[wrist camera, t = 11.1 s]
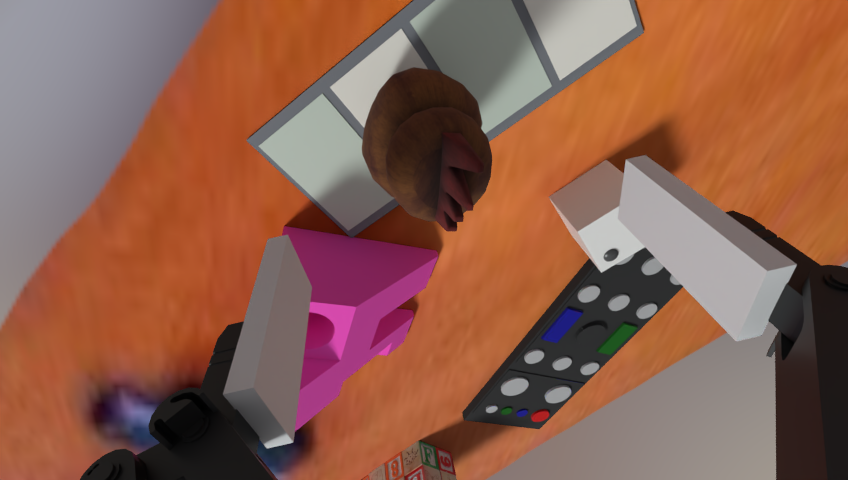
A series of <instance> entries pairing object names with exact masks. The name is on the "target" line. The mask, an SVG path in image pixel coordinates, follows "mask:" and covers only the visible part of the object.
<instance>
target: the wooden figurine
mask: <svg viewBox="0 0 848 480" xmlns="http://www.w3.org/2000/svg"><path fill="white" fill-rule="evenodd" d="M481 127H482V119H481V114H480V110H479V105H478V101H477V100H476V99H475V98H474V97H473V95H472V94H471V93H470V92H469V91H468V90H467V89H466V87H465V86H464V85H463V84H461V83H460V82H458V81H456V80H454V79H452V78H451V77H449V76H447V75H445V74H443V73H441V72H440V71H436V70H430V69H423V68H415V67H413V68H410V69H407V70H404V71H401V72H399V73H396V74H393V75H392V76H391V77H390V78H389V79H388V80H387V82H386V83H385V84H384V85H383V86H382V87H381V89H380V90H379V92H378V94H377V96H376V98H375V100H374V102H373V104H372V106H371V108H370V111H369V114H368V117H367V120H366V123H365V127H364V133H363V141H362V155H363V157H364V160H365V162H366V164H367V167H368V169H369V171H370V174H371V176H372V178H373V180H374V181H375V182H376V183H378V184H379V185H380V186H381V187H382V188H383V189H384V190H385V191H386V192H387V193H388V194H389V195H390V196H391V197H394V198H395V200H396V201H397V202H398V203H399V204H400V205H401V207H402V208H403V209H404V210H405V211H406V212H407V213H408V214H410V215H411V216H413V217H416V218H420V219H423V220H426V221H437V222H438V223H439V224H440V225H441V226H442V227H443V228H444V229H445V230H446V231H457V222H463V217H464V216H463V213H464V212H466V211H472V210H473V205H475V203H476V202H477V201H478V200H479V199H480V197H481V196H482V195H483V194H484V193H485V191H486V188H487V185H488V182H489V180H490V177H491V166H492V153H491V149H490V145H489V141H488V137H487V136H486V134H485V133H484V132H483V131H482V129H481Z"/></svg>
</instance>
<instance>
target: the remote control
mask: <svg viewBox="0 0 848 480" xmlns="http://www.w3.org/2000/svg"><path fill="white" fill-rule="evenodd" d="M682 287H683V286H682V285H681V284H680V283H679V282H678V281H677V280H676V279H675V277H674V276H673V275H672V274H671V273H670V272H669V271H668V270H667V269H666V268H665V267H664V266H663V265H662V264H661V263H660V262H659V261H658V260H657V259H656V258H655V257H654V256H653V255H652V254H651V253H650V252H649V251H648V249H647V248H646V247H645V248H643V249H641V250H639V251H638V252H636V253H634V254H633V255H631V256H629V257H627V258H626V259H624V260H622V261H621V262H619V263H617V264H615V265H614V266H612V267H610V268H609V269H607V270H605V271H603V272H602V273H601V272H600V270H599V269H598V268H597V267H596V265H595V264H594V263H593V262H592V260H591V259H590V258H589V259H588V261H587V262H586V263H585V264H584V265H583V267H582V268H581V269H580V270H579V272H578V273H577V274H576V275H575V276H574V278H573V279H572V280H571V281H570V282H569V284H568V285H567V286H566V287H565V289H564V290H563V291H562V292H561V293H560V295H559V296H558V297H557V298H556V299H555V301H554V302H553V303H552V304H551V306H550V307H549V308H548V309H547V310H546V312H545V313H544V314H543V315H542V316H541V318H540V319H539V320H538V321H537V323H536V324H535V325H534V326H533V327H532V329H531V330H530V331H529V332H528V334H527V335H526V336H525V337H524V338H523V340H522V341H521V342H520V343H519V344H518V346H517V347H516V348H515V349H514V351H513V352H512V353H511V354H510V355H509V357H508V358H507V359H506V360H505V361H504V363H503V364H502V365H501V366H500V368H499V369H498V370H497V371H496V372H495V374H494V375H493V376H492V377H491V378H490V380H489V381H488V382H487V383H486V385H485V386H484V387H483V388H482V389H481V391H480V392H479V393H478V394H477V395H476V397H475V398H474V399H473V400H472V402H471V403H470V404H469V405H468V406H467V408H466V409H465V410H464V411H463V412H462V414H463V418H464V420H467V421H475V422H484V423H492V424H500V425H509V426H517V427H526V428H534V429H540V428H541V427H542V426H543V425H544V424H545V423H546V422H547V421H548V420H549V419H550V418H551V417H552V416H553V415H554V414H555V413H556V412H557V411H558V410H559V409H560V408H561V407H562V406H563V405H564V404H565V403H566V402H567V401H568V400H569V399H570V398H571V397H572V396H573V395H574V394H575V393H576V392H577V391H578V390H579V389H580V388H581V387H582V386H583V385H584V384H585V383H586V382H587V381H588V380H590V379H591V378H592V377H593V376H594V375H595V374H596V373H597V372H598V371H599V370H600V369H601V368H602V367H603V366H604V365H605V364H606V363H607V362H608V361H609V360H610V359H611V358H612V357H613V356H614V355H615V354H616V353H617V352H618V351H619V350H620V349H621V348H622V347H623V346H624V345H625V344H626V343H627V342H628V341H629V340H630V339H631V338H632V337H633V336H634V335H635V334H636V333H637V332H638V331H639V330H640V329H641V328H642V327H643V326H644V325H645V324H646V323H647V322H648V321H649V320H650V319H651V318H652V317H653V316H654V315H655V314H656V313H657V312H658V311H659V310H660V309H661V308H662V307H663V306H664V305H665V304H666V303H667V302H668V301H669V300H670V299H671V298H672V297H673V296H674V295H675V294H676V293H677V292H678V291H679V290H680V289H681V288H682Z"/></svg>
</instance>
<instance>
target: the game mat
mask: <svg viewBox="0 0 848 480" xmlns="http://www.w3.org/2000/svg"><path fill="white" fill-rule="evenodd" d="M643 33H644V32H643V28H642V25H641V22H640V18H639V15H638V12H637V8H636V5H635V2H634V0H413V1H412V2H411V3H409V4H408V5H407V6H406V7H405V8H403V9H402V10H401V11H400V12H399V13H397V14H396V15H395V16H394V17H393V18H392V19H390V20H389V21H388V22H387V23H386V24H384V25H383V26H382V27H381V28H380V29H378V30H377V31H376V32H375V33H374V34H372V35H371V36H370V37H369V38H368V39H366V40H365V41H364V42H363V43H362V44H360V45H359V46H358V47H357V48H356V49H354V50H353V51H352V52H351V53H350V54H349V55H347V56H346V57H345V58H344V59H343V60H341V61H340V62H339V63H338V64H337V65H335V66H334V67H333V68H332V69H331V70H329V71H328V72H327V73H326V74H325V75H323V76H322V77H321V78H320V79H319V80H317V81H316V82H315V83H314V84H313V85H311V86H310V87H309V88H308V89H307V90H306V91H304V92H303V93H302V94H301V95H300V96H298V97H297V98H296V99H295V100H294V101H292V102H291V103H290V104H289V105H288V106H286V107H285V108H284V109H283V110H282V111H280V112H279V113H278V114H277V115H276V116H274V117H273V118H272V119H271V120H270V121H268V122H267V123H266V124H265V125H264V126H262V127H261V128H260V129H259V130H258V131H257V132H255V133H254V134H253V135H252V136H251V137H249V138H248V139H247V140H246V141H247V142H249V143H250V144H251V145H252V146H253V147H254V148H255V149H256V150H257V151H258V152H259V153H260V154H261V155H263V156H264V157H265V158H266V159H267V160H268V161H269V162H270V163H271V164H272V165H273V166H274V167H275V168H276V169H278V170H279V171H280V172H281V173H282V174H283V175H284V176H285V177H286V178H287V179H288V180H289V181H290V182H292V183H293V184H294V185H295V186H296V187H297V188H298V189H299V190H300V191H301V192H302V193H303V194H304V195H305V196H307V197H308V198H309V199H310V200H311V201H312V202H313V203H314V204H315V205H316V206H317V207H318V208H319V209H321V210H322V211H323V212H324V213H325V214H326V215H327V216H328V217H329V218H330V219H331V220H332V221H333V222H334V223H336V224H337V225H338V226H339V227H340V228H341V229H342V230H343V231H344V232H345V233H346V234H347V235H348V236H350V237H351V238H353V237H354V236H355V235H357V234H358V233H360V232H361V231H363V230H364V229H365V228H367V227H368V226H370V225H371V224H373V223H374V222H375V221H377V220H378V219H380V218H381V217H382V216H384V215H385V214H387V213H388V212H390V211H391V210H392V209H394V208H395V207H397V206H398V205H400V204H399V203H398V202H397V201H396V200H395V198H394V197H391V196H390V195H389V194H388V193H387V192H386V191H385V190H384V189H383V188H382V187H381V186H380V185H379V184H378V183H376V182H375V181H374V180H373V178H372V176H371V174H370V171H369V169H368V167H367V164H366V162H365V160H364V157H363V155H362V141H363V133H364V127H365V123H366V120H367V117H368V114H369V111H370V108H371V106H372V104H373V102H374V100H375V98H376V96H377V94H378V92H379V90H380V89H381V87H382V86H383V85H384V84H385V83H386V82H387V80H388V79H389V78H390V77H391V76H392V75H393V74H396V73H399V72H401V71H404V70H407V69H410V68H413V67H415V68H423V69H430V70H436V71H440V72H441V73H443V74H445V75H447V76H449V77H451V78H452V79H454V80H456V81H458V82H460V83H461V84H463V85H464V86H465V87H466V89H467V90H468V91H469V92H470V93H471V94H472V95H473V97H474V98H475V99H476V100H477V101H478V105H479V110H480V114H481V119H482V127H481V129H482V131H483V132H484V133H485V134H486V136H487V137H488V141H491V140H492V139H493V138H495V137H496V136H498V135H499V134H501V133H502V132H503V131H505V130H506V129H508V128H509V127H510V126H512V125H513V124H515V123H516V122H518V121H519V120H520V119H522V118H523V117H525V116H526V115H528V114H529V113H530V112H532V111H533V110H535V109H536V108H537V107H539V106H540V105H542V104H543V103H545V102H546V101H547V100H549V99H550V98H552V97H553V96H555V95H556V94H557V93H559V92H560V91H562V90H563V89H564V88H566V87H567V86H569V85H570V84H572V83H573V82H574V81H576V80H577V79H579V78H580V77H582V76H583V75H584V74H586V73H587V72H589V71H590V70H592V69H593V68H594V67H596V66H597V65H599V64H600V63H601V62H603V61H604V60H606V59H607V58H609V57H610V56H611V55H613V54H614V53H616V52H617V51H619V50H620V49H621V48H623V47H624V46H626V45H627V44H628V43H630V42H631V41H633V40H634V39H636V38H637V37H638V36H640V35H641V34H643Z"/></svg>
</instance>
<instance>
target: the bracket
mask: <svg viewBox="0 0 848 480" xmlns="http://www.w3.org/2000/svg"><path fill="white" fill-rule="evenodd" d="M284 235H288V236H289V238H290V240H291V243H292V245H293V247H294V249H295V251H296V253H297V255H298V258H299V260H300V262H301V264H302V266H303V268H304V271H305V273H306V275H307V277H308V279H309V281H310V284H311V286H312V292H311V300H310V309H309V317H308V325H307V333H306V342H305V350H304V358H303V367H302V375H301V383H300V392H299V400H298V408H297V416H296V425H295V431H296V430H298V429H299V428H300V427H301V426H302V425H304V424H305V423H306V422H307V421H308V420H310V419H311V418H312V417H313V416H315V415H316V414H317V413H318V412H319V411H321V410H322V409H323V408H324V407H325V406H327V405H328V404H329V403H330V402H331V401H333V400H334V399H335V398H336V397H337V396H339V393H340V389H341V386H342V383H343V381H345V380H346V379H347V378H348V377H350V376H351V375H352V374H353V373H355V372H356V371H357V370H358V369H360V368H361V367H362V366H363V365H365V364H366V363H367V362H368V361H370V360H371V359H372V358H373V357H375V356H376V355H388V354H390V353H391V352H392V351H393V350H394V349H396V348H397V347H398V346H399V345H400V344H402V343H403V342H404V339H405V337H406V334H407V332H408V330H409V327H410V325H411V322H412V320H413V317H414V314H413V310H406V309H397V307H399V306H400V305H401V304H403V303H404V302H406V301H407V300H409V299H410V298H411V297H413V296H414V295H416V294H417V293H419V292H420V291H421V290H423V289H424V288H426V285H427V283H428V280H429V278H430V275H431V273H432V270H433V268H434V265H435V263H436V261H437V258H438V253H437V251H436V250H430V249H424V248H418V247H411V246H405V245H399V244H393V243H387V242H380V241H374V240H368V239H362V238H356V237H353V238H351V237H349V236H343V235H337V234H331V233H325V232H318V231H312V230H306V229H300V228H294V227H287V226H284V229H283V233H282V236H284Z"/></svg>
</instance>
